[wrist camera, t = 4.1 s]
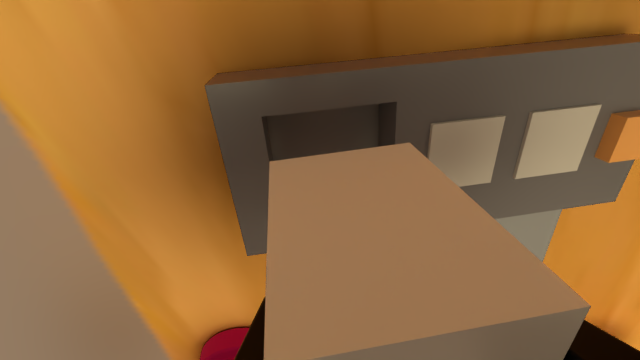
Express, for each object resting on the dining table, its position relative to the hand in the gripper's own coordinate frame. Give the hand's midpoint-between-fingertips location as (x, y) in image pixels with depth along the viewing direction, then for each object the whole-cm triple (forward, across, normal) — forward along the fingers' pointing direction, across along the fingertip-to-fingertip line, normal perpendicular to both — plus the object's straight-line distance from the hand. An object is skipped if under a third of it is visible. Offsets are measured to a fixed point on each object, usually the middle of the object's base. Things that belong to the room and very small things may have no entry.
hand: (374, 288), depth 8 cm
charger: (+4, 0, 0) cm, 4 cm away
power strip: (+11, -6, 0) cm, 12 cm away
